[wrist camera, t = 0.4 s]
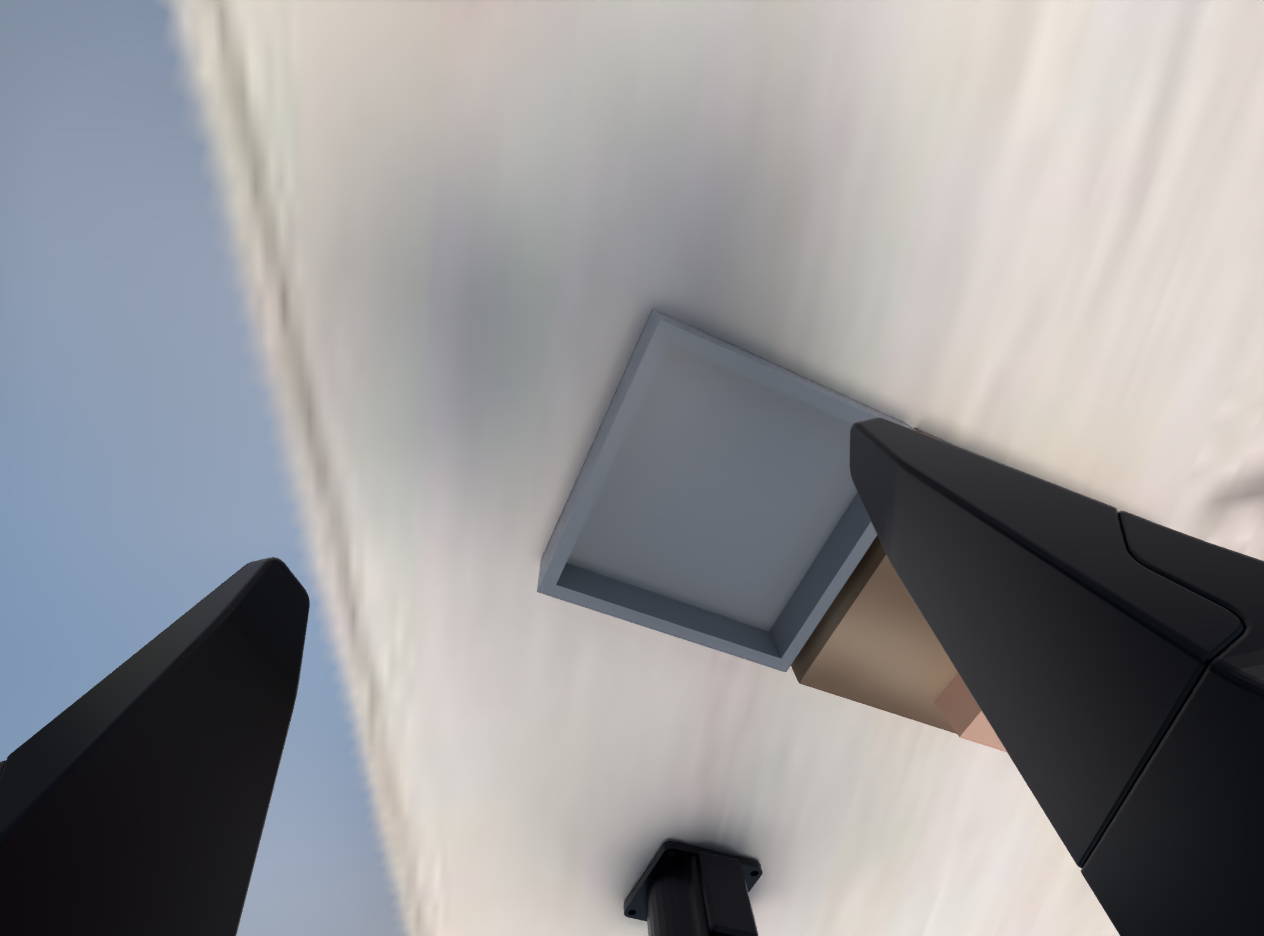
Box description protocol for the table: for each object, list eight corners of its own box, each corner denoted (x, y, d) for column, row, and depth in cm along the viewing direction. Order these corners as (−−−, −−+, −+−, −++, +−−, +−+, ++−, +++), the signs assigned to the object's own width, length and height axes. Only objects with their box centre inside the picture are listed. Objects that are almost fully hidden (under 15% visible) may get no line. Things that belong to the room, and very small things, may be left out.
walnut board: (998, 713, 33) (1036, 759, 30) (779, 639, 30) (799, 683, 27) (1150, 534, 29) (1210, 567, 26) (915, 427, 26) (955, 453, 23)
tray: (770, 636, 30) (786, 672, 27) (541, 559, 27) (536, 591, 25) (905, 423, 26) (937, 444, 23) (652, 309, 23) (660, 319, 21)
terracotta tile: (1009, 727, 29) (1038, 762, 27) (934, 702, 28) (959, 737, 26) (1069, 657, 27) (1104, 689, 26) (993, 629, 26) (1023, 660, 25)
